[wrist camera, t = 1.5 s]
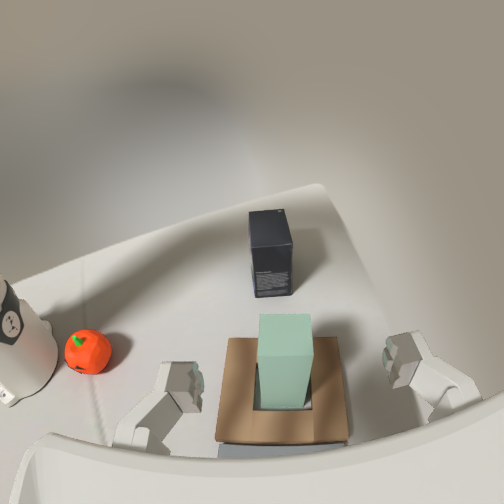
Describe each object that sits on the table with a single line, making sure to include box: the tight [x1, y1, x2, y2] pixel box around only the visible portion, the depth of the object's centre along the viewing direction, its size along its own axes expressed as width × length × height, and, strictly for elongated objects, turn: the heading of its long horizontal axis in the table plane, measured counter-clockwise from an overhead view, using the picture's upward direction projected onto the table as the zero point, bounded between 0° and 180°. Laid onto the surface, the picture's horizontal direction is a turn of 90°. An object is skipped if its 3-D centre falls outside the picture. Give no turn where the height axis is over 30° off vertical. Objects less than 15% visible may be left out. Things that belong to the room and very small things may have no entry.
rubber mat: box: [217, 443, 344, 458], centre depth 22 cm, size 14×14×1 cm
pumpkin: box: [65, 329, 112, 374], centre depth 36 cm, size 7×8×6 cm
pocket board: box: [215, 337, 349, 444], centre depth 33 cm, size 15×15×1 cm
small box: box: [249, 209, 293, 298], centre depth 49 cm, size 11×6×10 cm, turn 2°
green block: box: [257, 314, 314, 407], centre depth 30 cm, size 5×5×12 cm
